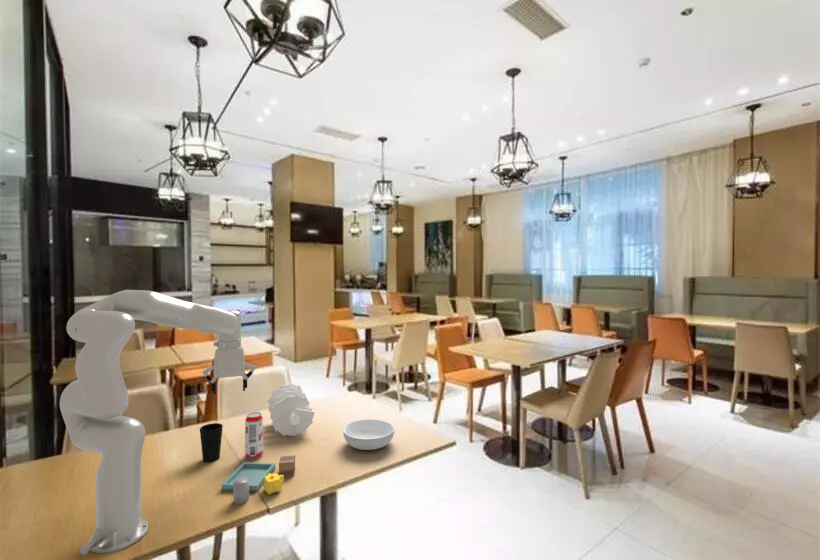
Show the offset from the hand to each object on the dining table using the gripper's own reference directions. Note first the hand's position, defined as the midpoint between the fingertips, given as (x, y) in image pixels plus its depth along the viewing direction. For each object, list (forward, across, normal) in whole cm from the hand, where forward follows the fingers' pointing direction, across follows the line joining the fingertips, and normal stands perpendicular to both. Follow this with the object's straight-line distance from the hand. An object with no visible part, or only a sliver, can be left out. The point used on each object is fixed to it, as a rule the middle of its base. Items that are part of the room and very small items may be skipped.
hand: (229, 391), depth 140 cm
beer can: (+27, +8, +3) cm, 28 cm away
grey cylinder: (+27, +4, -26) cm, 37 cm away
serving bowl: (+27, +52, -4) cm, 59 cm away
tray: (+27, +6, -14) cm, 31 cm away
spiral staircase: (+27, +24, +26) cm, 44 cm away
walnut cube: (+27, +18, -14) cm, 36 cm away
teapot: (+27, +14, -24) cm, 39 cm away
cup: (+27, -6, +7) cm, 29 cm away
